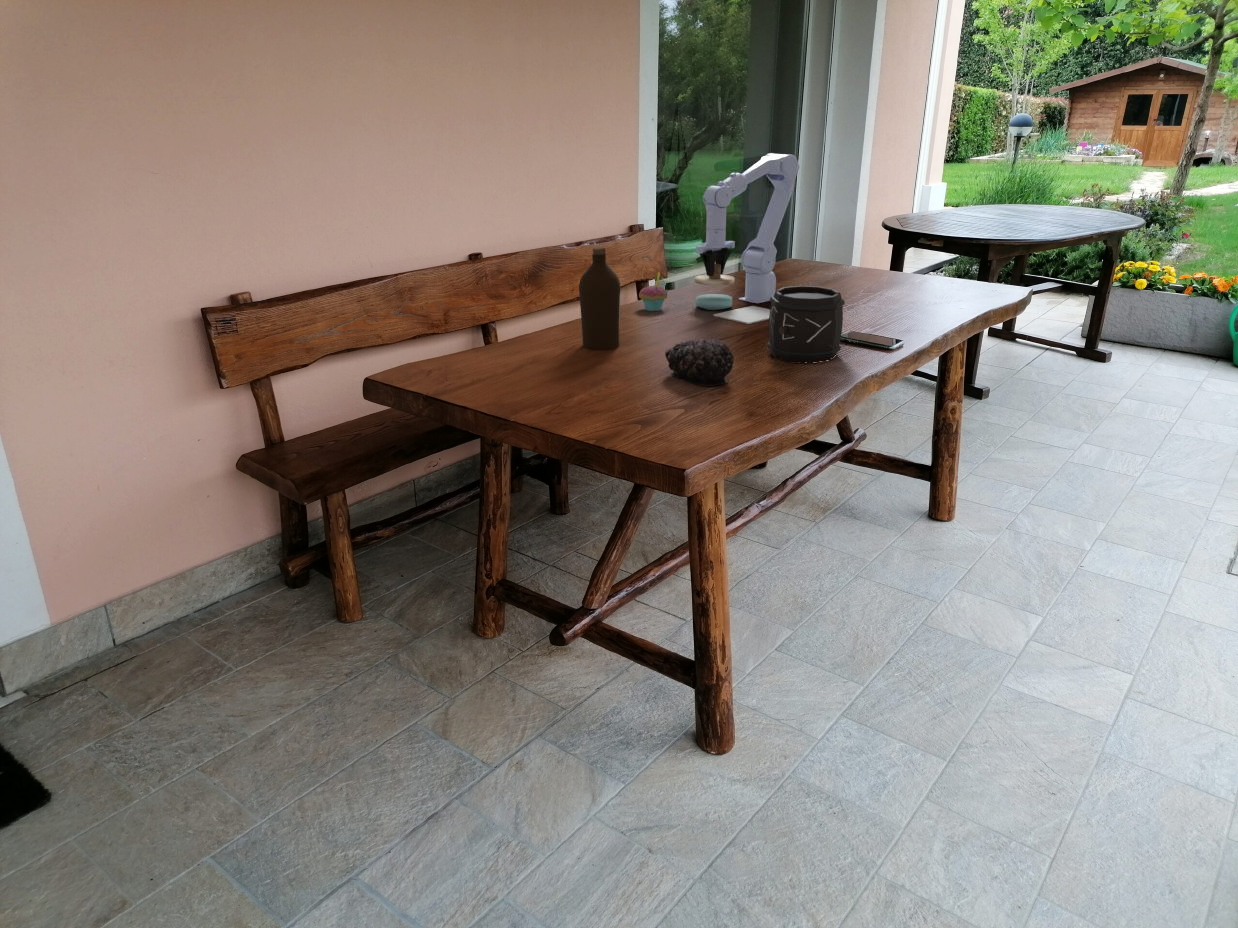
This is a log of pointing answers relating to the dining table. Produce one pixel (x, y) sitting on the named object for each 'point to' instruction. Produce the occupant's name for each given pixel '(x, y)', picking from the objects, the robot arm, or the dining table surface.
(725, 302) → the light blue flat disc
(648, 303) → the cupcake
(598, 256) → the olive oil
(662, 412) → the dining table surface
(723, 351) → the pine cone
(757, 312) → the mat
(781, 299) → the dark grey barrel
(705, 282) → the lid
